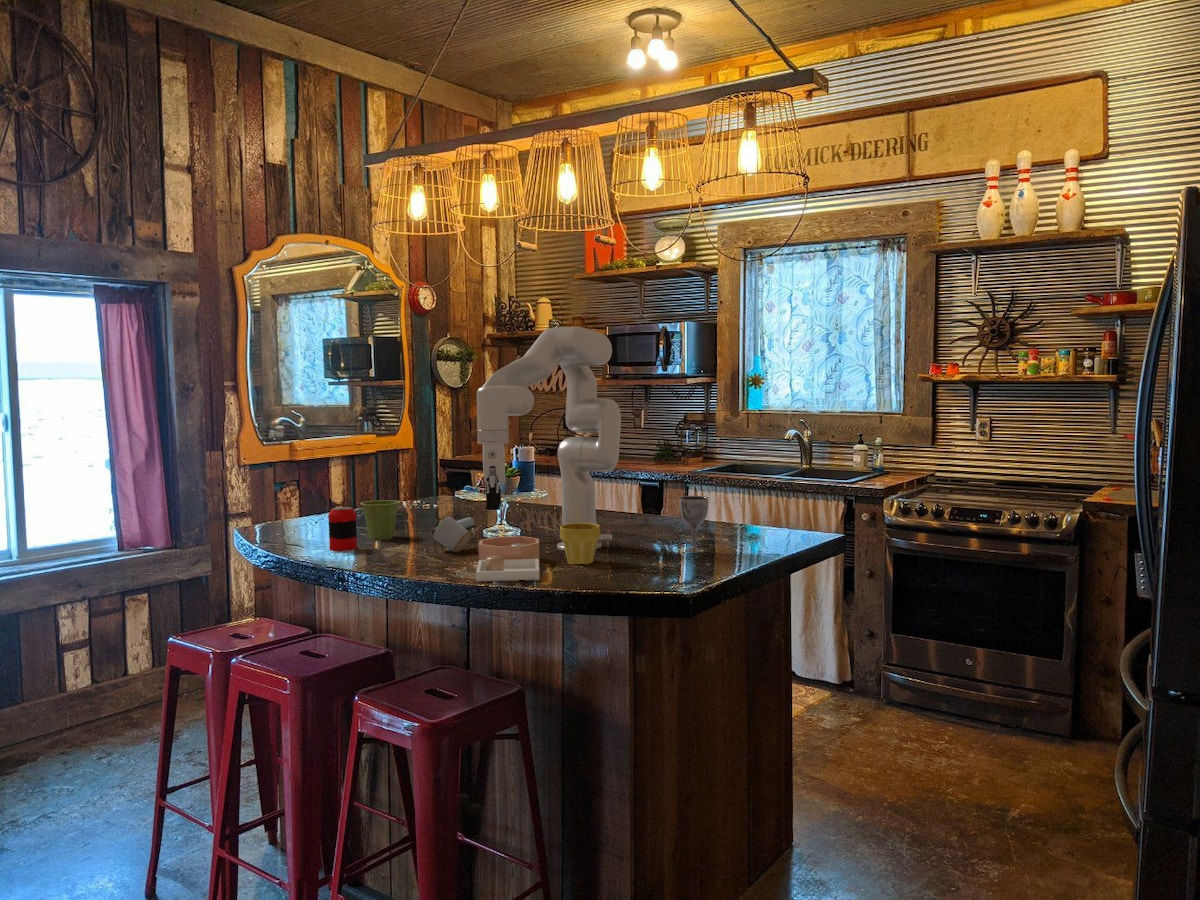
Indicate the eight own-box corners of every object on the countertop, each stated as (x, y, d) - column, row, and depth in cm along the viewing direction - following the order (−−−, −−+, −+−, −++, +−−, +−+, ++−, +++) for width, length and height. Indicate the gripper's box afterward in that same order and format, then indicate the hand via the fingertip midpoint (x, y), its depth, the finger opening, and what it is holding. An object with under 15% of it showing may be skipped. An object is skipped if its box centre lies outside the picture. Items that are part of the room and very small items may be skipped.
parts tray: (538, 568, 239) (538, 558, 239) (539, 580, 224) (539, 570, 224) (479, 569, 238) (478, 560, 238) (476, 582, 223) (475, 572, 223)
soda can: (331, 553, 263) (329, 511, 262) (328, 549, 270) (326, 507, 269) (358, 551, 266) (357, 509, 265) (355, 547, 273) (354, 506, 272)
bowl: (538, 555, 256) (538, 535, 255) (539, 567, 240) (539, 545, 240) (480, 557, 255) (480, 537, 254) (478, 569, 239) (477, 547, 239)
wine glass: (712, 550, 261) (712, 496, 260) (703, 555, 254) (703, 500, 252) (685, 548, 264) (685, 495, 263) (675, 553, 257) (675, 498, 256)
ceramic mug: (453, 559, 261) (459, 540, 257) (430, 542, 263) (436, 523, 258) (474, 540, 269) (481, 521, 265) (452, 524, 271) (458, 505, 267)
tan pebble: (504, 571, 233) (504, 555, 233) (504, 575, 229) (503, 558, 228) (486, 571, 233) (486, 556, 233) (485, 575, 228) (485, 559, 228)
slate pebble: (527, 557, 250) (527, 542, 250) (527, 561, 246) (527, 545, 245) (511, 558, 250) (510, 543, 249) (510, 561, 245) (510, 546, 245)
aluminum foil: (440, 539, 288) (440, 528, 287) (421, 538, 290) (421, 527, 290) (474, 527, 309) (474, 517, 309) (456, 526, 311) (456, 516, 311)
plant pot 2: (586, 568, 238) (585, 530, 238) (552, 564, 244) (552, 527, 243) (607, 561, 247) (607, 524, 246) (574, 557, 253) (574, 521, 252)
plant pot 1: (409, 537, 288) (408, 501, 288) (381, 543, 278) (380, 505, 278) (381, 534, 295) (380, 498, 294) (353, 540, 285) (351, 503, 284)
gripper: (507, 439, 220) (508, 511, 221) (509, 435, 238) (509, 502, 239) (475, 439, 220) (476, 512, 221) (479, 435, 237) (480, 503, 238)
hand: (493, 507), depth 230 cm, fingers open, 9 cm apart
